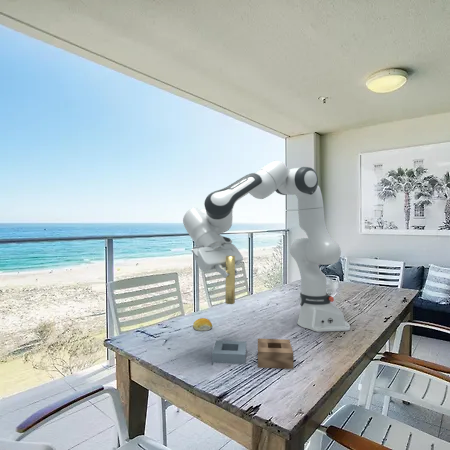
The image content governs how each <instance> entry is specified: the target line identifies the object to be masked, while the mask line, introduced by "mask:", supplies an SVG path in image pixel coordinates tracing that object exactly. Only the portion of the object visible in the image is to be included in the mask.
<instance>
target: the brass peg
mask: <svg viewBox="0 0 450 450" xmlns="http://www.w3.org/2000/svg"><path fill="white" fill-rule="evenodd" d="M235 266H236V265H235V256H226V267H225V270H226V271H228V273H229V274H230V275H229V276H228V277H227V278H225V297H224V298H225V302H224V303H225V304H226V305H234V304H236V301H235V300H236V276H235Z"/></svg>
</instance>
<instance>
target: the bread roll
mask: <svg viewBox="0 0 450 450" xmlns="http://www.w3.org/2000/svg"><path fill="white" fill-rule="evenodd" d="M192 328H193V329H194V330H195V331H199V332H206V331H210V330H211V329H212V328H213V324H212V322H211V321H210V319H208V318H206V317H205V318H204V317H201V318H198V319H196V320H195V321H194V322H193V324H192Z"/></svg>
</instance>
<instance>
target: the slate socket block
mask: <svg viewBox="0 0 450 450" xmlns="http://www.w3.org/2000/svg"><path fill="white" fill-rule="evenodd" d="M246 360H247V341H243V340H242V341H241V340H215V343H214V345H213V349H212V352H211V366H213V365H214V364H215V363H216V364H217V363H219V364H235V365H237V364H240V365H246V362H247V361H246Z"/></svg>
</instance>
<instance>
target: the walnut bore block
mask: <svg viewBox="0 0 450 450" xmlns="http://www.w3.org/2000/svg"><path fill="white" fill-rule="evenodd" d="M257 368H264V369H285V370H294V351H293V346H292V344H291V340H290V339H283V338H282V339H281V338H279V339H278V338H259V337H258V338H257Z"/></svg>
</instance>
